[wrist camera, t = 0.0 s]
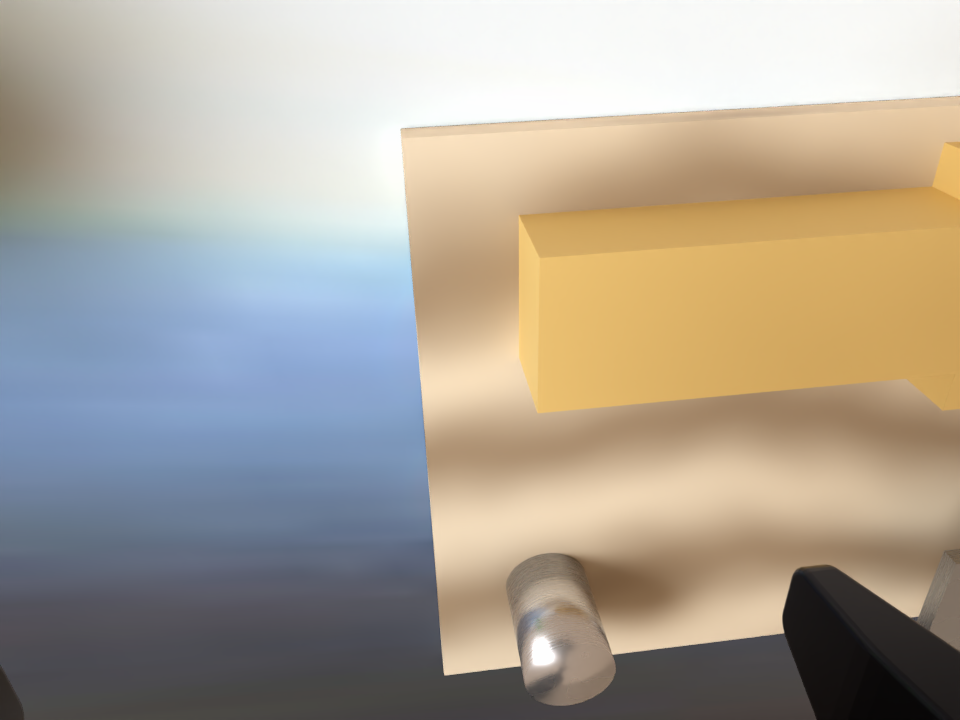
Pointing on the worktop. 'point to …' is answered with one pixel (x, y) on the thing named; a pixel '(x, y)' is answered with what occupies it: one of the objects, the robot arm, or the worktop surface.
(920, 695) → the robot arm
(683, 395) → the link
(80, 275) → the worktop surface
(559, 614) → the pintle
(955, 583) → the keeper
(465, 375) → the board
